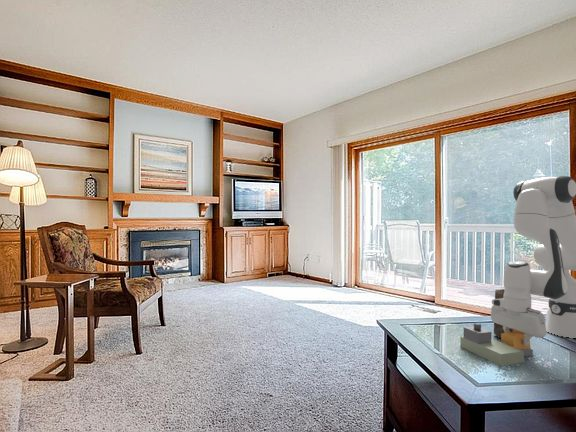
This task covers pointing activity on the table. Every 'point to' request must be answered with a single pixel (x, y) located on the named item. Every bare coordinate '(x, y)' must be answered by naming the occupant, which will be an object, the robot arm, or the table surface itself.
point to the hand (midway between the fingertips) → (516, 341)
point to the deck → (491, 347)
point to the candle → (497, 327)
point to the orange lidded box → (514, 339)
